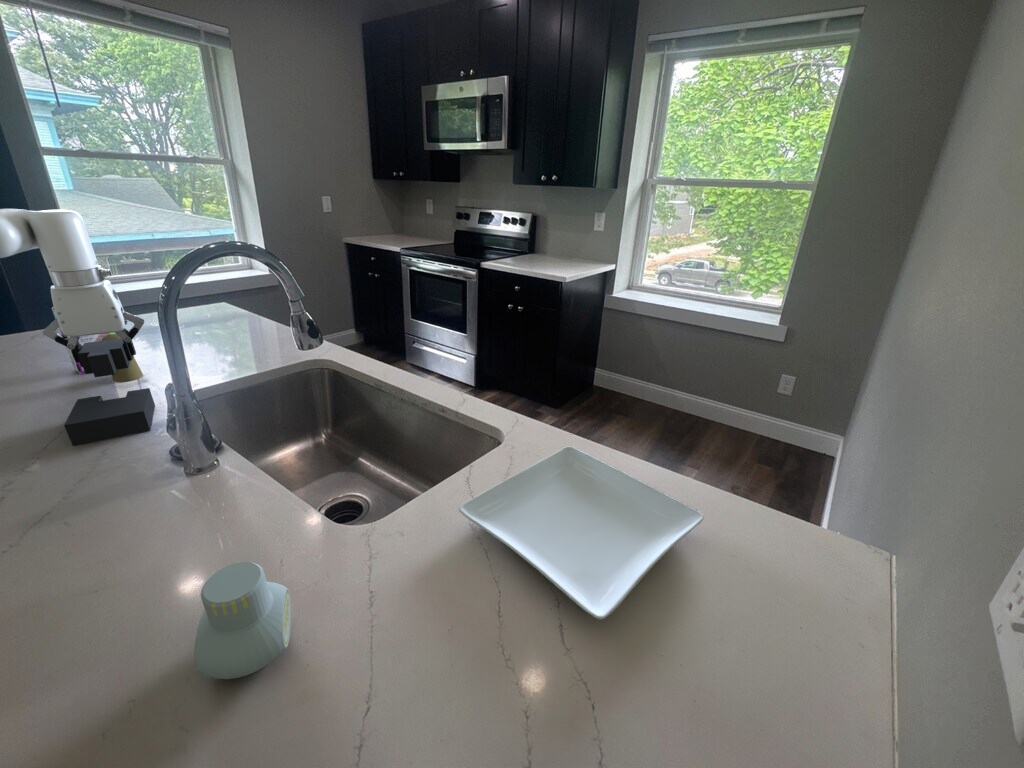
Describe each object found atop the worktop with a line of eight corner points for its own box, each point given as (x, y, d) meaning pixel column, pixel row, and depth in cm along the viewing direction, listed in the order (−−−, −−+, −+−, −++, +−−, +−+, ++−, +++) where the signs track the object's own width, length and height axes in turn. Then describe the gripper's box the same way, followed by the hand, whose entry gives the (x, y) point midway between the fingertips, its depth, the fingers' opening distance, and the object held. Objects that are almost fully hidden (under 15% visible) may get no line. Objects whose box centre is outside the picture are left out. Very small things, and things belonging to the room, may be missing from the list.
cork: (140, 370, 120) (127, 329, 115) (145, 377, 116) (131, 335, 111) (110, 376, 116) (95, 334, 111) (114, 384, 112) (98, 341, 107)
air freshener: (288, 678, 50) (270, 613, 46) (199, 704, 47) (171, 637, 43) (294, 597, 59) (280, 537, 55) (220, 614, 57) (199, 553, 52)
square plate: (703, 532, 72) (708, 512, 71) (597, 643, 55) (601, 620, 53) (568, 458, 90) (569, 440, 88) (455, 524, 72) (454, 504, 71)
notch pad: (72, 445, 88) (63, 425, 86) (85, 418, 97) (77, 399, 95) (150, 430, 94) (143, 411, 92) (155, 406, 103) (149, 387, 101)
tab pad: (82, 379, 93) (74, 358, 91) (91, 362, 100) (84, 342, 98) (126, 372, 96) (119, 352, 94) (132, 357, 103) (125, 337, 102)
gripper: (135, 270, 98) (159, 349, 106) (23, 277, 90) (58, 362, 98) (130, 277, 92) (157, 360, 100) (10, 286, 84) (49, 375, 92)
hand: (108, 361), depth 99 cm, fingers closed on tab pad, 7 cm apart
